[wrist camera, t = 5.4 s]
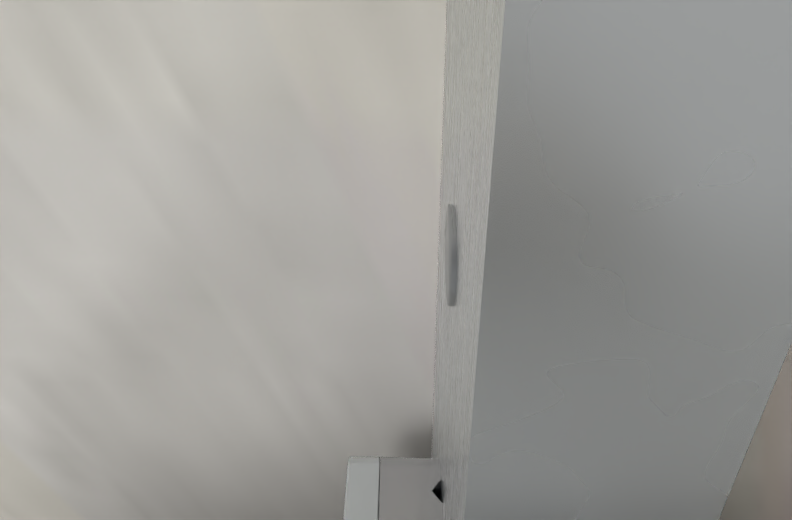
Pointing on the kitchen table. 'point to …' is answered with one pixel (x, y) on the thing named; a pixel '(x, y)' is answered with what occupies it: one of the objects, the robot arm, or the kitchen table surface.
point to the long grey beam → (610, 253)
